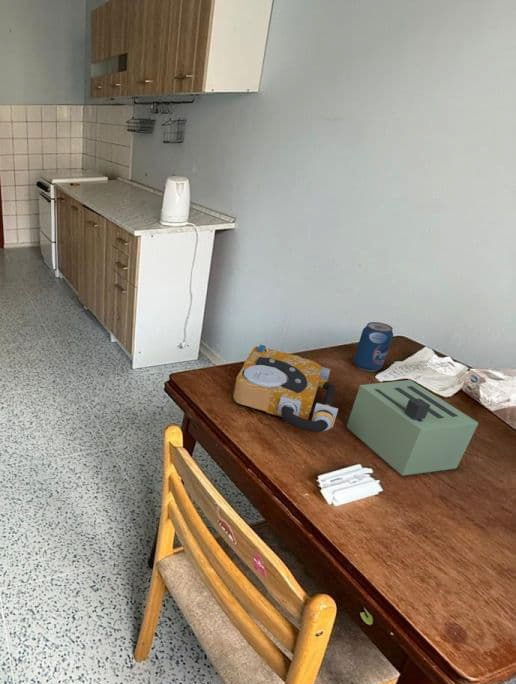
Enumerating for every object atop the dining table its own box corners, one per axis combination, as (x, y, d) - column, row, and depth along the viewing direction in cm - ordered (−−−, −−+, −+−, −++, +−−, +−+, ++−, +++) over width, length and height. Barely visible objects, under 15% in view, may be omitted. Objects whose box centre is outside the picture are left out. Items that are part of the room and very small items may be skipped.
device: (350, 357, 116) (337, 418, 94) (341, 386, 120) (326, 450, 98) (255, 337, 127) (223, 387, 105) (250, 364, 131) (218, 418, 109)
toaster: (394, 421, 106) (410, 379, 101) (456, 468, 92) (479, 422, 87) (346, 427, 105) (360, 384, 100) (402, 475, 91) (421, 429, 86)
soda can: (375, 375, 125) (388, 334, 119) (347, 365, 129) (360, 325, 124) (385, 367, 128) (399, 326, 123) (359, 358, 133) (371, 318, 127)
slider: (414, 411, 90) (420, 398, 89) (425, 418, 88) (430, 405, 87) (403, 412, 90) (408, 399, 89) (413, 419, 88) (419, 406, 87)
